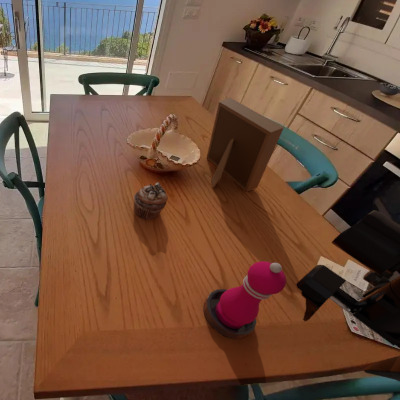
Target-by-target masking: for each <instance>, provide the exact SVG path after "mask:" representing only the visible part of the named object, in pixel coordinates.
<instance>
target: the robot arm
mask: <svg viewBox="0 0 400 400" xmlns="http://www.w3.org/2000/svg"><path fill="white" fill-rule="evenodd" d="M331 244H332V245H333V246H335V247H337V248H338V249H340V250H341V251H342V252H344V253H345V254H346V255H348V256H349V257H351V258H352V259H354V260H355V261H357V262H358V263H360V264H361V265H362V266H364V267H365V268H366V269H368V270H369V271H368V272H366V273H365V274H364V275H363V278H362V279H363V280H364V281H365V282H366V283H368V284H370V285H371V286H373V287H371V288H369V289H368V290H366V291H365V292H364V293H363V294H362V295H361V297H363V298H362V299H360V300H358V299H356V298H354V296H352V295H351V294H349V293H348V292H346V291H345V290H343V289H342V288H341V287H342V286H343V285H344V284H345V283H346V281H347V279H346V278H343V277H342V276H341V275H339V274H337V273H336V272H335V271H333V270H332V269H331V268H329V267H327V266H326V265H325V264H316V265H315V266H314V267H313V268H312V269H310V270H309V271H308V272H307V273H305V275H304V276H302V277H301V279H299V281H297V282H296V283H295V285H296V287H297V289H298V290H299V291H301V292H300V295H301V296H302V297H303V298H304V299H305V311H304V314H303V318H302V320H303V322H307V321H309V320H310V319H311V318H312V317H313V316H314V315H315V314H316V313H317V312H319V310H320V308H322V306H323V305H324V304H325V303H326V302H327V301H328V300H331V301H332V302H334V303H335V304H336V305H337V306H339V307H340V308H341V309H342V310H344V311H346V313H348V314H349V315H350V316H352V317H354V318H355V319H356V320H357V321H359V322H360V323H361V324H363V325H364V326H365V327H367V328H368V329H370V330H371V331H372V332H374V333H375V334H377V335H379V337H381V338H382V339H384V340H385V341H386V342H388V343H389V344H390V345H392V346H396V347H397V348H398V349H400V275H399V276H395V273H396V272H397V271H399V270H400V224H399V223H397V222H395V221H393V220H392V219H391V218H389V216H388V215H386V214H384V213H383V212H381V211H379V210H376V209H374V210H371V212H368V213H366V214H365V215H364V216H363V217H362V218H361V219H360V220H359V221H357V222H356V223H354V224H353V225H351V226H350V227H348V228H347V229H344V230H343V231H342V232H340V233H339V234H338V235H337V236H336V237H334V239H333V240H332V241H331ZM363 372H364V373H365V374H369V375H374V376H378V377H381V378H386V379H390V380H395V381H398V382H400V355H397V356H394V357H390V358H386V359H382V360H380V361H376V362H373V363H371V364H369V365H367V366H365V367H364V368H363Z"/></svg>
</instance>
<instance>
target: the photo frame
mask: <svg viewBox="0 0 400 400" xmlns="http://www.w3.org/2000/svg"><path fill="white" fill-rule="evenodd" d="M284 129H285V127H284V126H282V125H280V124H278V123H277V122H275V121H273V120H271V119H270V118H268V117H266V116H264V115H262V114H261V113H258V112H257V111H255V110H253V109H252V108H250V107H248V106H246V105H245V104H243V103H240V102H239V101H237V100H235V99H233V98H232V97H228V98H225V99H223V100H220V101H218V104H217V109H216V114H215V119H214V122H213V127H212V131H211V136H210V139H209V145H208V150H207V154H206V159H207V160H208V161H209V162H210V163H212V164H213V166H215V167H216V169H215V171H214V173H213V175H212V177H211V179H210V183H211V187H212V189H214V188H215V187H216V185H218V183H219V182H220V180H221V179H222V176H223V174H224V175H226V176H227V177H228V178H229V179H230V180H231V181H233V182H234V183H235V184H236V185H237V186H238V187H240V188H241V189H242V190H244V191H245V192H246V193H248V192H250V191H253V190H255V189H258V186H259V184H260V182H261V180H262V178H263V176H264V173H265V171H266V169H267V167H268V164H269V162H270V160H271V157H272V156H273V153H274V151H275V149H276V146H277V144H278V141H279V139H280V137H281V135H282V133H283V131H284Z"/></svg>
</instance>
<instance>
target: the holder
mask: <svg viewBox="0 0 400 400" xmlns="http://www.w3.org/2000/svg"><path fill="white" fill-rule="evenodd" d="M226 290H227V289H226V288H220V289H219V288H218V289H215V290H213V291H211V292H209V294H208V295H207V297H206V298H205V300H204V302H203V305H202V309H203V314H204V317H205V319H206V321H207V323H208V324H209V326H211V328H212V329H213V330H214V331H215V332H217V333H218V334H220V335H221V336H223V337H226V338H228V339H232V340H241V339H243V338H245V337H247V336H248V335H250V334H251V333H252V332H253V331H255V330H256V326H257V317H256V318H255V320H254V321H253V322H251V323H249V324H245V325H244V326H243V327H241V328H239V329H233V328H230V327H227V326H226V325H224V324H223V323H222V322H221V321H220V320H219V319H218V317H217V315H216V311H215V308H216V305H217V304H218V303H219V301H220V297H221V295H222V294H223V293H224V292H225V291H226Z"/></svg>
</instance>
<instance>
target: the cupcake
mask: <svg viewBox="0 0 400 400" xmlns="http://www.w3.org/2000/svg"><path fill="white" fill-rule="evenodd" d="M168 200H169V197H168V195H167V192H166V190H165V188H163V187H162V185H161V183H160V182H156V183H155V185H154V184H151V183H150V184H148V185H144V186H142V187H141V188H140V189H138V190H137V192H136V193H134V196H133V209H134V210H133V211H134V214H135V215H137V216H138V218H140V219H143V220H149V221H150V220H153V219H156V218H158V217H159V215H160V214H161V213H162V212H163V210H164V208H165V207H166V205H167V201H168Z"/></svg>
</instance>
